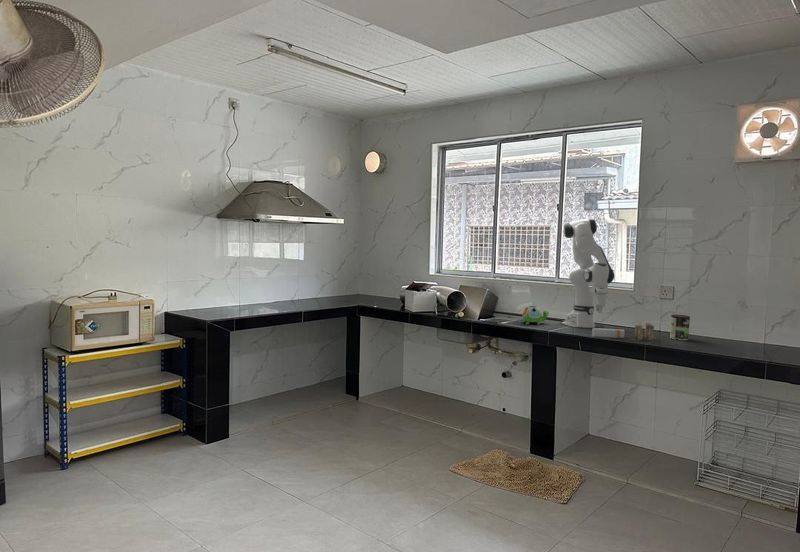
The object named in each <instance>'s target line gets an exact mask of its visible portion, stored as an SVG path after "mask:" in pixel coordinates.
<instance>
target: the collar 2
mask: <svg viewBox="0 0 800 552" xmlns="http://www.w3.org/2000/svg"><path fill="white" fill-rule="evenodd" d="M654 331H655V326H654V325H652V324H651V323H649V322H648V323H647V322H646V323H645V332H644V333H645V335H644V337H645V338H646V339H647V338H648V341H654Z"/></svg>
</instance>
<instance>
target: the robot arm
mask: <svg viewBox="0 0 800 552" xmlns="http://www.w3.org/2000/svg"><path fill="white" fill-rule="evenodd" d="M561 230H562V234H563V236H564V238H566V239H571V248H572V253H573V260H574V262H575V263H576V264H577V265H578V266H579V268H577V269H574V270H571V272H570V273H569V277H568V278H569V281H570V283H571V284H572V285H573V287H574V289H575V294H576V295H575V297H576V298H575V299H576V300H575V304H574V305H573V309H572V310H571V311H570V312H569V313H568V314H566V316H565V320H564V321H562V322H561V324H562V325H564V326H565V325H566V326H569V327H572V328H585V329H586V328H589V329H591V328H596V327H595V325H596V324H595V321H594V311H595V310H596V312H598V314H603V309H604V307H606V303H607V302H606V301H607V295H608V291H609V287H608V286H609V284H611V283H612V282H613V281H614V279H615V272H614V270H613V268H612V267H611V265H610V263H609V261H608V259H607V256H606V254H605V251H604V250H603V247H602V246H600V245H599V244H598V243H597V242H596V240H595V238H594V235H595V234H596V232H597V230H598V225H597V222H596V220H595V219H593V218H588V219H587V218H585V219H578V220H574V221H570V222H569V221H568V222H565V223H564V224H563V225H562V229H561ZM592 257H594V258H595V259H596V260H597V262H594V261H593V258H592ZM591 285H592V287H590V286H591ZM591 289H592V290H591ZM594 304H595V306H594ZM595 308H596V309H595Z"/></svg>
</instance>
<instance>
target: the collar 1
mask: <svg viewBox="0 0 800 552" xmlns="http://www.w3.org/2000/svg"><path fill="white" fill-rule="evenodd" d="M634 326H635V327H634V337H635V338H637V340H639V341H643V336H644V335H643V333H644V325H643V324H641V323H640V322H635V325H634Z"/></svg>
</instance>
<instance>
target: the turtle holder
mask: <svg viewBox="0 0 800 552" xmlns="http://www.w3.org/2000/svg"><path fill="white" fill-rule="evenodd" d="M549 313H550V312H549V310H548V309H545V310H543V312H542V310H541V309H540V308H539V306H537V305H527V307H525V308H524V310H523V312H522V319H521V320H522V321H523V322H524V323H525V325H530V323H536V325H541V322H545V321H546V320H547V318H548V315H549Z"/></svg>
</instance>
